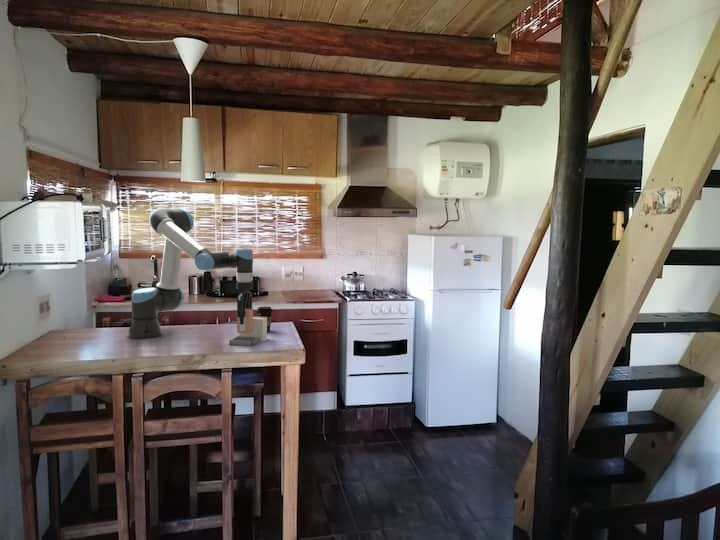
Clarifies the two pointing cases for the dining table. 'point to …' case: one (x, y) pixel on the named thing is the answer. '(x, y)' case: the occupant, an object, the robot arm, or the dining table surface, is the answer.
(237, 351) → the dining table surface
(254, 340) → the tray
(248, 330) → the stub
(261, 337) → the boxy square-sided block
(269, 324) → the coffee cup
